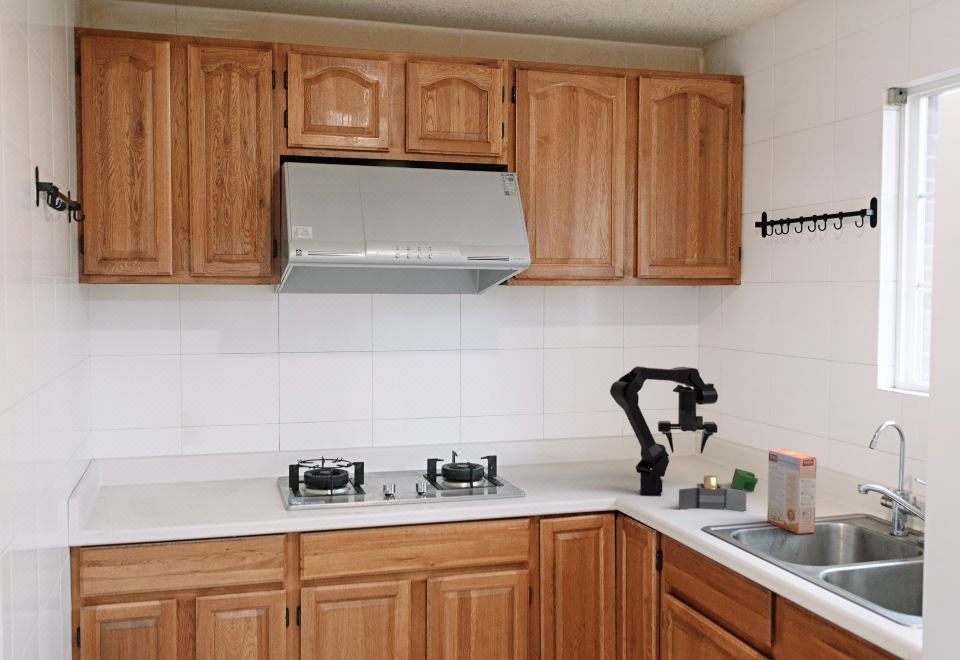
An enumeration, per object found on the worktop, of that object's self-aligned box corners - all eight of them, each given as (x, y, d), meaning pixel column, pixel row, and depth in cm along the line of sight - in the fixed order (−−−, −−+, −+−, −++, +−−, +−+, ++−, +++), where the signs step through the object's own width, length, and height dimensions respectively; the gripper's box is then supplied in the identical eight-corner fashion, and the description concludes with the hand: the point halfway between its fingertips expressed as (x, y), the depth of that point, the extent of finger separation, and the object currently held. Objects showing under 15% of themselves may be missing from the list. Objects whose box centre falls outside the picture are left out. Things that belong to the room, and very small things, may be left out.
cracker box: (816, 533, 242) (817, 456, 241) (797, 535, 241) (798, 457, 240) (784, 520, 256) (786, 447, 255) (766, 522, 254) (767, 448, 253)
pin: (704, 507, 271) (704, 477, 270) (702, 504, 275) (702, 475, 274) (717, 507, 270) (718, 478, 270) (715, 504, 274) (716, 475, 274)
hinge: (679, 509, 268) (679, 489, 268) (676, 502, 277) (676, 482, 277) (746, 511, 265) (747, 491, 265) (741, 504, 275) (741, 484, 274)
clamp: (750, 505, 291) (758, 483, 287) (731, 500, 292) (740, 478, 288) (749, 484, 302) (757, 462, 297) (731, 479, 302) (739, 457, 298)
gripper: (659, 408, 286) (659, 457, 287) (719, 409, 284) (719, 458, 285) (657, 403, 297) (657, 450, 298) (715, 404, 295) (715, 452, 296)
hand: (686, 453), depth 294 cm, fingers open, 9 cm apart
